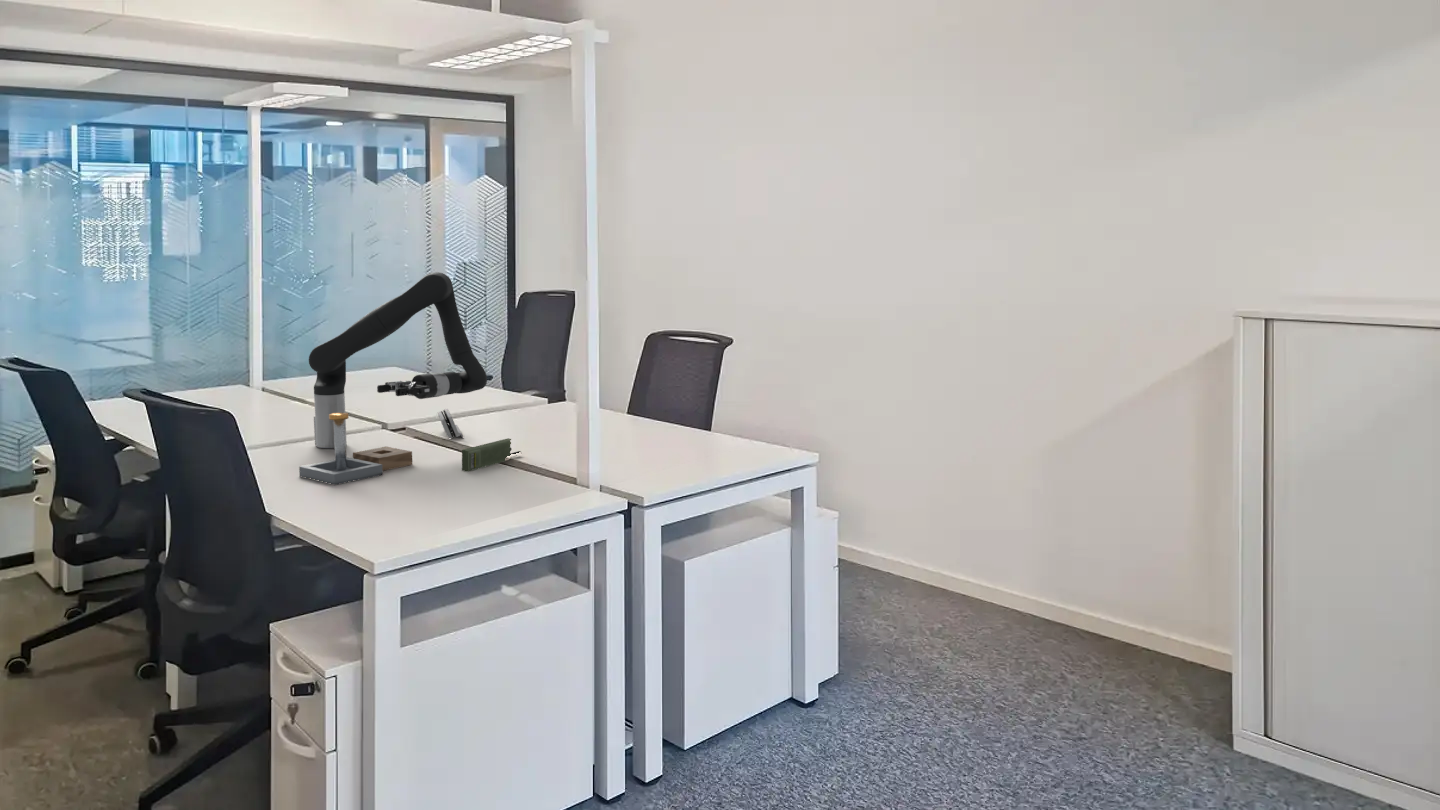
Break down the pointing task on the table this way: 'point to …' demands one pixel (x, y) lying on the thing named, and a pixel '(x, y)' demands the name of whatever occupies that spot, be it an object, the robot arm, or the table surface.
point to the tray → (353, 472)
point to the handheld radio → (486, 454)
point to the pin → (339, 440)
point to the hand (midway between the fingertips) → (387, 390)
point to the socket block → (386, 457)
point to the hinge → (451, 426)
